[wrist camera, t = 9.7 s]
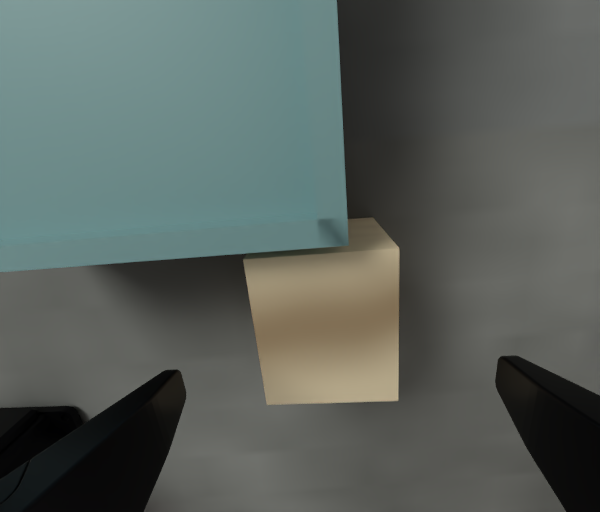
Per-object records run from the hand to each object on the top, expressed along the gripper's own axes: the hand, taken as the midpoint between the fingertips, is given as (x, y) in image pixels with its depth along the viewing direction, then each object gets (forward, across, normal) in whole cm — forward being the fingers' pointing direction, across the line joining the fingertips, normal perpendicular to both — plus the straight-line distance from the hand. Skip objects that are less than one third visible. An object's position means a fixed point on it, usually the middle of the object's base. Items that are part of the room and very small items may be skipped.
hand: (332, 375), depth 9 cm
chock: (+7, 0, 0) cm, 7 cm away
